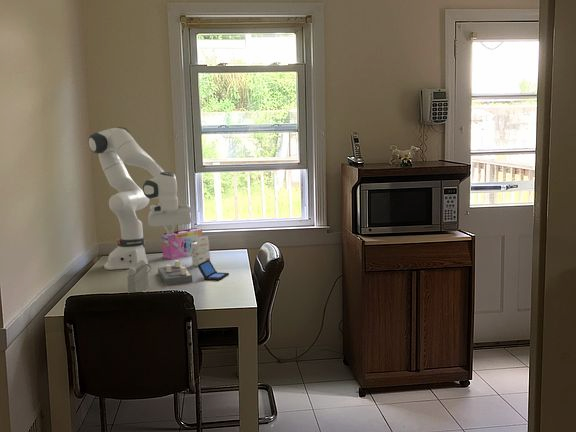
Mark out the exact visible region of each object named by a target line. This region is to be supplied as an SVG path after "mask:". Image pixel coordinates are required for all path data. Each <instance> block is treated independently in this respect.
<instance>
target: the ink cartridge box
mask: <svg viewBox="0 0 576 432" xmlns="http://www.w3.org/2000/svg"><path fill="white" fill-rule="evenodd" d="M202 238H203V240H201V239H202ZM191 252H192V255H191V262H192V266H196V267H198V264H200V263H202V262H205V261H207V260H210V261H211V256H210V240H209V236H208V235H203V237H199V238H197V242H194V243H191Z"/></svg>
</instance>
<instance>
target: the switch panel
mask: <svg viewBox="0 0 576 432" xmlns="http://www.w3.org/2000/svg"><path fill="white" fill-rule="evenodd" d="M180 267H185V266H184V264H180ZM180 267H177V268H176V267H175V265H171V269H172V272H167V271H166V266H163V267H162V266H161V267H158V268H157V274H158V276H159V277H160V279H161V280H162V281H163V283H164V284H165V286H171V285H179V284H187V283H193V275H192V273H191V272H190V271H189V270H188V269H186V274H185V275H182V274H181V268H180Z"/></svg>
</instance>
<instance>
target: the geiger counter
mask: <svg viewBox="0 0 576 432" xmlns="http://www.w3.org/2000/svg"><path fill="white" fill-rule="evenodd" d="M144 264H145V262H144V261H143V260H141V261H140V262H138V263H137V264H136V265H134V267H131V268H128V270H127V277H126V278H127V289H128V290H127V291H128V293H129V292H143V291H146V290H147V289H148V288H149V289H150V284H149V273H150V272H151V271H152V266H151V265H149V263H148V264H145V265H144ZM148 267H149V268H150V269H149V270H148Z"/></svg>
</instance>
